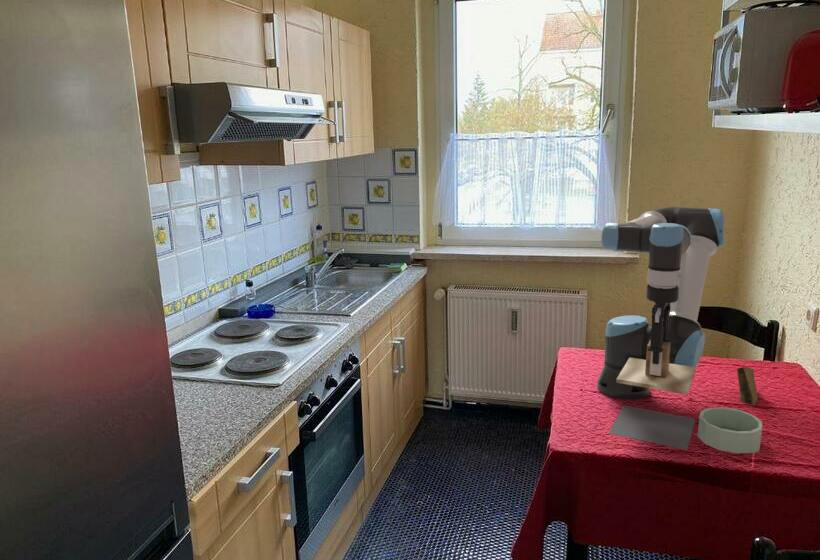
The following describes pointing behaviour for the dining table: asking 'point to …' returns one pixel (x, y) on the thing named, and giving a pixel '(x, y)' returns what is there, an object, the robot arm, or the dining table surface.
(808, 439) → the dining table surface
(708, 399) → the dining table surface
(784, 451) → the dining table surface
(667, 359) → the lid
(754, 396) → the rock
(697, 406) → the dining table surface
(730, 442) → the bowl
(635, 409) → the mat
